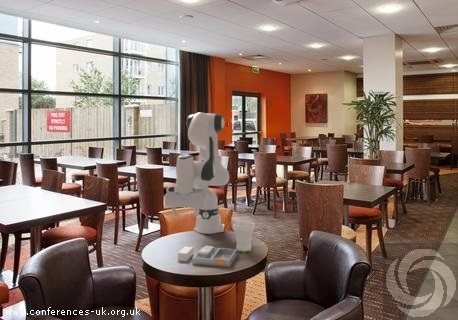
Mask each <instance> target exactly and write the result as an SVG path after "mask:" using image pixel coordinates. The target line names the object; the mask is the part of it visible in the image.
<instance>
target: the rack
mask: <svg viewBox="0 0 458 320" xmlns="http://www.w3.org/2000/svg"><path fill="white" fill-rule="evenodd" d="M237 256H238V252H237V249H236V248H226V247H225V248H224V247H215V245H214V246H213V245H204V246H201V247H200V249H199V250H198V251H197V252H196V253H195V254H193V255H192V256H191V264H192V265H199V266H200V265H201V266H212V267H225V268H230V267H231V266H232V265H233V262H234V261H235V260H236V258H237Z"/></svg>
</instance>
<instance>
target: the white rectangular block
mask: <svg viewBox="0 0 458 320" xmlns="http://www.w3.org/2000/svg"><path fill="white" fill-rule="evenodd" d="M193 256H194V246H184V247H182V249H180V250H179V251H178V252H177V261H178V262H180V261H181V262H188V261H189V259H190V258H192V257H193Z"/></svg>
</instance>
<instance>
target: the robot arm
mask: <svg viewBox="0 0 458 320" xmlns="http://www.w3.org/2000/svg"><path fill="white" fill-rule="evenodd" d="M186 127H187V138H188V140H189V142H190V143H191V144H193V145H194V146H195V147H198V151H199V153H198V156H199V158H200V159H201V160H194V156H193V155H192V154H186V153H185V154H180V155H178V156H177V159H176V166H175V175H176V180H175V184H173V185H171V186H168V187H166V189H165V191H166V193H165V195H164V205H165V207H168V208H169V207H171V210H172V212H173V216H174V217H179V216H178V215H179V212H178V211H177V210H176V209H177V208H189V209H194V212H193V213H192V218H196V219H195V220H196V221H195V227H194V228H193V231H196V232H197V233H199V234H207V235H208V234H210V235H211V234H217V233H222V232H224V231H225V224H224V223H222V218H221V215H220V213H219V212H220V211H219V210H220V208H219V206H218V195H217V193H216V192H214V191H213V190H211V189H210V188H209V186H211V187H212V186H215V187H217V186H219V187H220V186H224V185H227V184H228V182H229V181H230V173H229V170H228V169H227V168H225V167H224V166H223V165H222V163H221V161H220V158H219V150H218V149H219V148H218V147H219V145H218V144H219V142H218V139H219V138H218V134H219V133H221V132H222V131H223V129H224V127H225V118H224V116H223V115H222V114H219V113H211V112H210V113H208V112H207V113H205V112H197V113H194V114H193V113H192V114H190V115H188V116H187V118H186ZM197 213H198V215H197Z"/></svg>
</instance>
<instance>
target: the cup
mask: <svg viewBox="0 0 458 320" xmlns="http://www.w3.org/2000/svg"><path fill="white" fill-rule="evenodd" d="M255 225H256V224H255V223H254V222H252V221H236V222H235V221H234V222H233V223H232V229H233V231H234V235H235V238H236V239H235V240H236V245H235V246H236V248H235V249H237V253H243V254H246V253H247V252H248V253H251V250H252V244H251V243H252V236H253V233H254V230H255V228H256V226H255Z"/></svg>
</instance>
